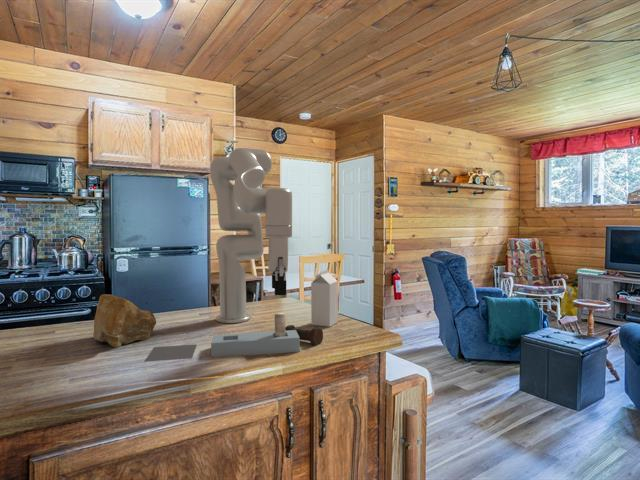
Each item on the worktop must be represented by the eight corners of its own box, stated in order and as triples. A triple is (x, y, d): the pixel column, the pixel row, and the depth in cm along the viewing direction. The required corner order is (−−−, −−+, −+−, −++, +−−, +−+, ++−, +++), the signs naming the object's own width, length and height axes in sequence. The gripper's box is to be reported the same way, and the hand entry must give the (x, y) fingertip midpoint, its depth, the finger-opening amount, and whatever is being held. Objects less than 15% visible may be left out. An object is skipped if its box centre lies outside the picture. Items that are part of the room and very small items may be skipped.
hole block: (211, 358, 108) (211, 343, 108) (213, 348, 116) (213, 335, 115) (299, 351, 112) (299, 337, 112) (295, 343, 120) (295, 329, 120)
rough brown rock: (163, 348, 119) (166, 297, 120) (100, 354, 110) (103, 299, 110) (145, 333, 138) (147, 289, 139) (90, 337, 128) (93, 291, 129)
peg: (274, 347, 117) (274, 313, 116) (285, 346, 117) (284, 312, 117) (275, 350, 114) (275, 315, 113) (286, 349, 114) (285, 315, 114)
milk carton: (337, 322, 144) (337, 270, 143) (329, 327, 138) (329, 272, 137) (319, 320, 147) (319, 269, 146) (311, 325, 141) (310, 271, 140)
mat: (154, 348, 116) (154, 347, 116) (197, 345, 119) (196, 344, 119) (144, 362, 105) (144, 361, 105) (192, 359, 107) (192, 357, 107)
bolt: (280, 342, 127) (320, 348, 120) (271, 338, 124) (312, 344, 116) (285, 324, 130) (325, 329, 122) (276, 319, 126) (317, 324, 118)
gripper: (263, 230, 122) (264, 286, 123) (267, 233, 105) (267, 298, 106) (288, 230, 123) (288, 285, 124) (295, 233, 106) (295, 297, 107)
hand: (278, 291), depth 115 cm, fingers open, 9 cm apart
